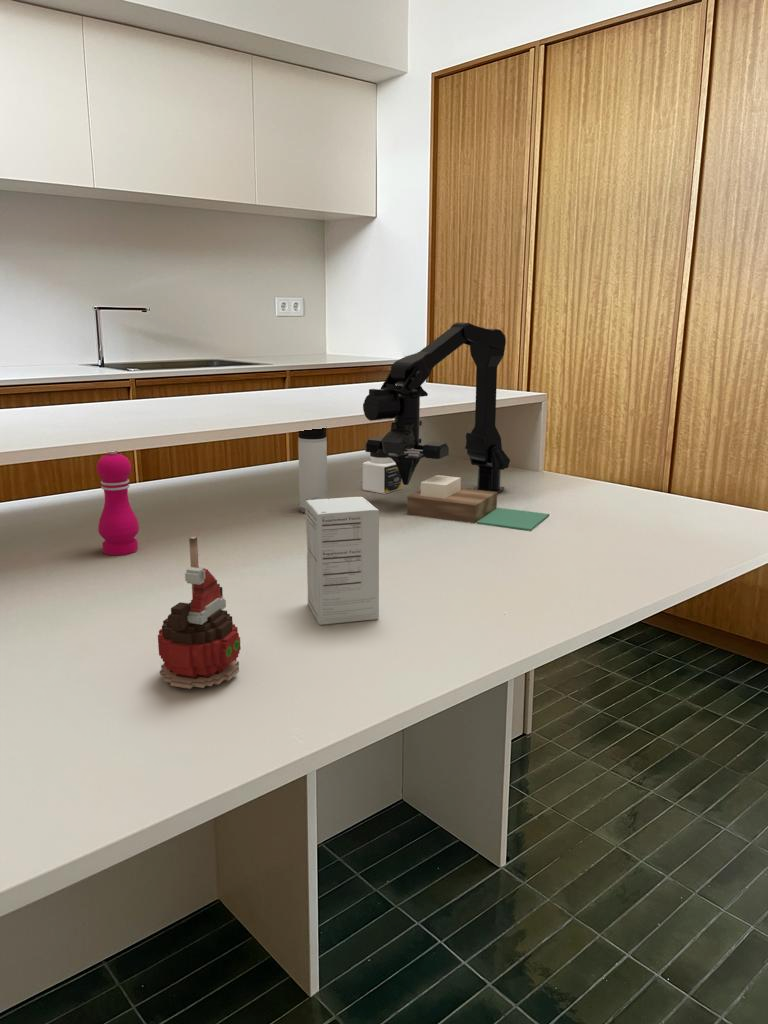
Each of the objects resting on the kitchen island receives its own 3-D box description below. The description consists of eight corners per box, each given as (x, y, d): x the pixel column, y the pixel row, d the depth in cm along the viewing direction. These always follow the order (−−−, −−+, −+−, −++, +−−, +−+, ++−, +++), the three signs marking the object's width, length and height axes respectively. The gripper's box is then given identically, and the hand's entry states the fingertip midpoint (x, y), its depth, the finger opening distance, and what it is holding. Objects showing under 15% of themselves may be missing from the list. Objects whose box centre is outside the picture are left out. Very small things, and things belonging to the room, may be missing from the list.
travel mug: (311, 515, 175) (310, 425, 170) (294, 509, 180) (292, 421, 175) (333, 511, 179) (333, 422, 174) (316, 505, 184) (315, 419, 179)
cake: (189, 653, 106) (182, 523, 101) (253, 663, 103) (248, 529, 99) (143, 689, 96) (133, 546, 91) (213, 700, 93) (205, 554, 89)
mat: (497, 509, 182) (497, 507, 182) (549, 515, 177) (549, 514, 177) (476, 523, 170) (476, 521, 170) (530, 531, 165) (530, 529, 164)
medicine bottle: (384, 494, 195) (385, 446, 192) (362, 490, 200) (362, 442, 197) (401, 489, 201) (402, 442, 198) (379, 485, 205) (379, 439, 202)
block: (436, 487, 185) (436, 475, 184) (460, 490, 182) (460, 477, 182) (420, 495, 177) (420, 482, 176) (445, 498, 175) (445, 485, 174)
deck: (432, 501, 189) (432, 484, 188) (496, 509, 182) (497, 492, 181) (407, 514, 177) (407, 496, 176) (474, 523, 170) (475, 505, 169)
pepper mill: (129, 542, 154) (121, 440, 149) (147, 550, 149) (140, 445, 144) (93, 550, 149) (84, 445, 144) (111, 559, 144) (102, 450, 139)
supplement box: (380, 620, 118) (381, 510, 113) (319, 626, 115) (317, 514, 111) (363, 597, 126) (363, 494, 122) (306, 603, 124) (304, 498, 120)
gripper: (353, 418, 176) (353, 487, 180) (430, 424, 168) (428, 496, 172) (376, 412, 186) (376, 478, 190) (450, 418, 178) (448, 486, 182)
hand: (405, 484), depth 183 cm, fingers closed
